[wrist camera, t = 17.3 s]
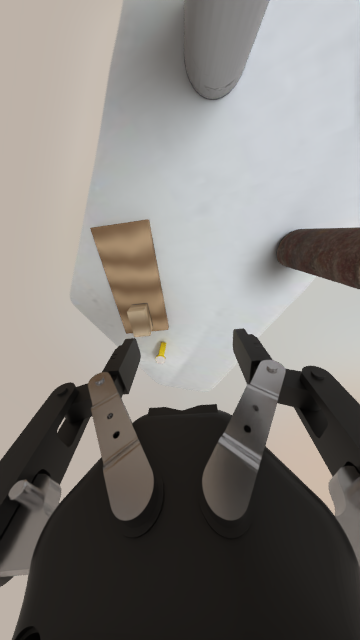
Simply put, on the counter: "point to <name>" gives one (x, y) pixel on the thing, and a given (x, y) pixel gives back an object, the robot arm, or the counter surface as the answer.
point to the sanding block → (140, 319)
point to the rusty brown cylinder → (324, 253)
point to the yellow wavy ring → (161, 354)
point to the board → (132, 269)
